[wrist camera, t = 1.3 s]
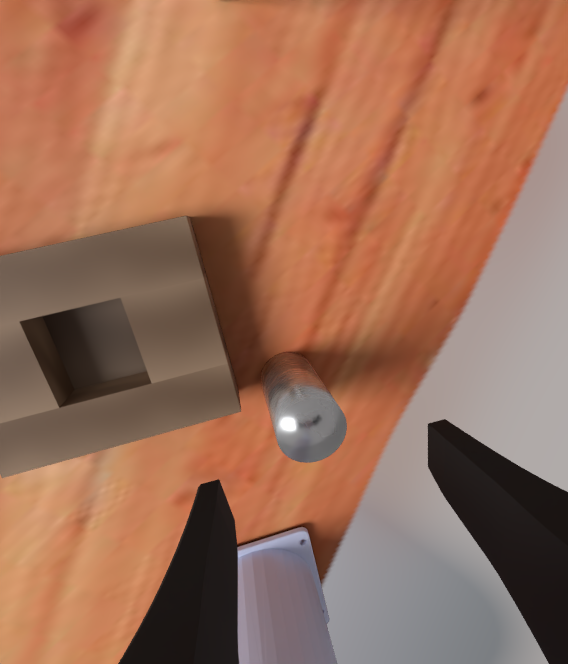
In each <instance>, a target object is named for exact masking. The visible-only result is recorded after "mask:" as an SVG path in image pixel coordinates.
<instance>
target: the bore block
mask: <svg viewBox="0 0 568 664" xmlns="http://www.w3.org/2000/svg"><path fill="white" fill-rule="evenodd" d="M238 412H241V406H240V399H239V391H238V387H237V384H236V380H235V377H234V373H233V369H232V366H231V362H230V359H229V355H228V352H227V348H226V344H225V341H224V337H223V334H222V330H221V326H220V323H219V319H218V316H217V312H216V308H215V305H214V301H213V298H212V294H211V291H210V287H209V283H208V280H207V276H206V273H205V269H204V265H203V262H202V258H201V255H200V251H199V247H198V244H197V240H196V237H195V233H194V229H193V226H192V222H191V219H190V217H189V216H183V217H178V218H174V219H169V220H164V221H160V222H155V223H150V224H146V225H141V226H137V227H132V228H127V229H123V230H118V231H113V232H109V233H104V234H100V235H95V236H90V237H86V238H81V239H77V240H72V241H67V242H63V243H58V244H53V245H49V246H44V247H40V248H35V249H30V250H26V251H21V252H16V253H12V254H7V255H3V256H0V475H1V477H2V478H4V477H8V476H12V475H15V474H19V473H22V472H26V471H29V470H33V469H37V468H40V467H44V466H47V465H51V464H55V463H58V462H62V461H65V460H69V459H73V458H76V457H80V456H83V455H87V454H91V453H94V452H98V451H101V450H105V449H108V448H112V447H116V446H119V445H123V444H126V443H130V442H134V441H137V440H141V439H144V438H148V437H152V436H155V435H159V434H162V433H166V432H170V431H173V430H177V429H180V428H184V427H187V426H191V425H195V424H198V423H202V422H205V421H209V420H213V419H216V418H220V417H223V416H227V415H231V414H234V413H238Z"/></svg>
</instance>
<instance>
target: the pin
mask: <svg viewBox="0 0 568 664" xmlns="http://www.w3.org/2000/svg"><path fill="white" fill-rule="evenodd" d="M261 385H262V388H263V392H264V395H265V399H266V403H267V406H268V410H269V413H270V417H271V420H272V424H273V428H274V431H275V435H276V438H277V442H278V445H279V447H280V449H281V450H282V452H283V453H284V454H285V455H286V456H288V457H289V458H291V459H293V460H295V461H299V462H316V461H319V460H322V459H324V458H326V457H328V456H330V455H331V454H332V453H334V452H335V451H336V450H337V449H338V448H339V446H340V445H341V443H342V442H343V440H344V438H345V435H346V430H347V424H346V418H345V416H344V414H343V412H342V410H341V409H340V407H339V406H338V404H337V403H336V401H335V400H334V398H333V397H332V395H331V394H330V392H329V391H328V389H327V388H326V386H325V385H324V383H323V382H322V380H321V379H320V377H319V376H318V374H317V373H316V372H315V370H314V369H313V367H312V366H311V364H310V363H309V361H308V360H307V359H306V358H305V357H303V356H302V355H300V354H297V353H293V352H285V353H280V354H278V355H276V356H274V357H272V358H271V359H270V360H269V361H268V362H267V363H266V364H265V366H264V368H263V370H262V373H261Z"/></svg>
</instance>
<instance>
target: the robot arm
mask: <svg viewBox="0 0 568 664" xmlns="http://www.w3.org/2000/svg"><path fill="white" fill-rule="evenodd" d="M428 467H429V469H430V471H431V473H432V475H433V477H434V479H435V481H436V482H437V484H438V486H439V488H440V490H441V492H442V493H443V495H444V497H445V498H446V500H447V501H448V502H449V504H450V505H451V507H452V508H453V510H454V511H455V512H456V514H457V515H458V517H459V518H460V520H461V521H462V522H463V524H464V525H465V527H466V528H467V530H468V531H469V532H470V534H471V535H472V537H473V538H474V540H475V541H476V542H477V544H478V545H479V547H480V548H481V549H482V551H483V552H484V553H485V555H486V556H487V558H488V559H489V561H490V562H491V564H492V565H493V567H494V569H495V570H496V571H497V573H498V574H499V576H500V578H501V580H502V581H503V583H504V585H505V587H506V588H507V590H508V592H509V593H510V595H511V597H512V598H513V600H514V601H515V604H516V605H517V607H518V609H519V611H520V612H521V614H522V616H523V618H524V619H525V621H526V623H527V625H528V626H529V628H530V630H531V632H532V634H533V635H534V637H535V639H536V641H537V642H538V644H539V646H540V648H541V650H542V652H543V654H544V655H545V657H546V659H547V661H548V663H549V664H568V492H567V491H564V490H562V489H560V488H558V487H556V486H554V485H553V484H551V483H549V482H547V481H545V480H543V479H541V478H539V477H538V476H536V475H534V474H532V473H530V472H529V471H527V470H525V469H523V468H521V467H520V466H518V465H516V464H515V463H513V462H511V461H510V460H508V459H506V458H505V457H503V456H501V455H500V454H498V453H496V452H495V451H493V450H492V449H490V448H489V447H487V446H485V445H484V444H482V443H481V442H479V441H478V440H476V439H474V438H473V437H471V436H470V435H468V434H467V433H465V432H464V431H462V430H461V429H459V428H458V427H456V426H454V425H453V424H451V423H450V422H448V421H447V420H445V419H444V420H440V421H437V422H433V423H429V424H428ZM303 539H305V540H303ZM301 540H303V541H301ZM328 622H329V616H328V611H327V607H326V604H325V600H324V595H323V591H322V587H321V583H320V579H319V574H318V570H317V566H316V562H315V558H314V554H313V550H312V546H311V542H310V537H309V534H308V530H307V529H306V528H305V527H299V528H296V529H293V530H290V531H286V532H283V533H280V534H277V535H274V536H271V537H268V538H265V539H261V540H258V541H255V542H252V543H249V544H246V545H243V546H239V547H237V539H236V530H235V520H234V517H233V515H232V512H231V509H230V507H229V504H228V502H227V499H226V496H225V494H224V491H223V488H222V486H221V483H220V480H215V481H211V482H207V483H204V484H201V485H200V486H199V487H198V490H197V494H196V497H195V500H194V503H193V506H192V509H191V512H190V515H189V518H188V521H187V523H186V526H185V529H184V531H183V534H182V536H181V539H180V542H179V544H178V547H177V549H176V552H175V554H174V556H173V559H172V561H171V563H170V566H169V568H168V570H167V572H166V574H165V577H164V579H163V581H162V583H161V586H160V588H159V590H158V592H157V594H156V596H155V598H154V600H153V602H152V604H151V606H150V608H149V610H148V612H147V614H146V616H145V617H144V619H143V621H142V623H141V625H140V627H139V629H138V630H137V632H136V634H135V636H134V638H133V639H132V641H131V643H130V645H129V646H128V648H127V650H126V652H125V653H124V655H123V657H122V658H121V660H120V662H119V663H118V664H337V661H336V657H335V653H334V650H333V646H332V643H331V639H330V635H329V632H328V628H327V623H328Z"/></svg>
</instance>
